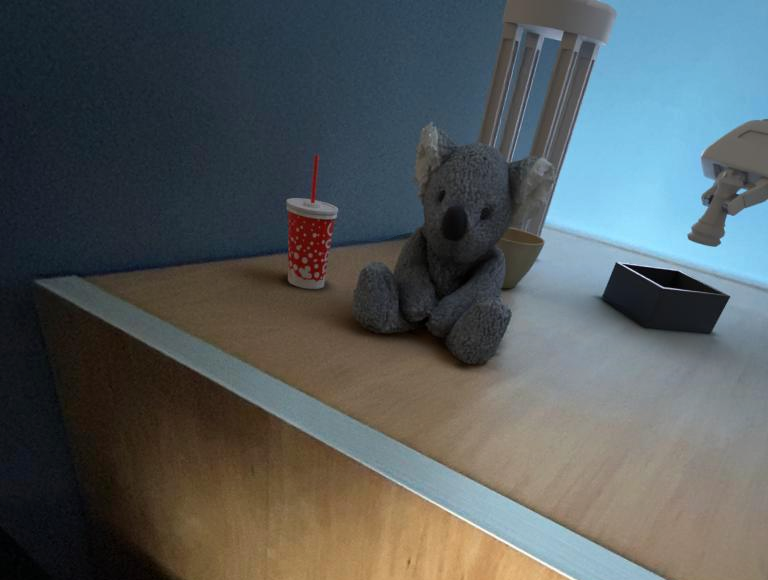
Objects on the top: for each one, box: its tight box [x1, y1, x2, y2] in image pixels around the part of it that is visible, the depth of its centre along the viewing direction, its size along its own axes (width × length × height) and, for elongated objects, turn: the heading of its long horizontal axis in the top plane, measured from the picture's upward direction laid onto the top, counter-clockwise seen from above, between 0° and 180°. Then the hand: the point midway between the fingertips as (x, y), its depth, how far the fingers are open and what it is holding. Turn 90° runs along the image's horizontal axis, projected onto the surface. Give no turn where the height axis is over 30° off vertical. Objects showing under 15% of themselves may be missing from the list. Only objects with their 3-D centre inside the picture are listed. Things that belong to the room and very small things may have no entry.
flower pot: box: [495, 227, 546, 289], centre depth 86 cm, size 10×10×7 cm
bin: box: [601, 261, 731, 334], centre depth 87 cm, size 12×12×6 cm
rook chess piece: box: [687, 172, 745, 248], centre depth 74 cm, size 4×4×8 cm
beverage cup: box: [285, 154, 339, 290], centre depth 68 cm, size 6×6×14 cm
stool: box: [476, 0, 618, 237], centre depth 93 cm, size 16×16×35 cm
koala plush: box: [352, 121, 558, 365], centre depth 61 cm, size 17×18×20 cm
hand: (715, 206), depth 73 cm, fingers closed on rook chess piece, 3 cm apart
